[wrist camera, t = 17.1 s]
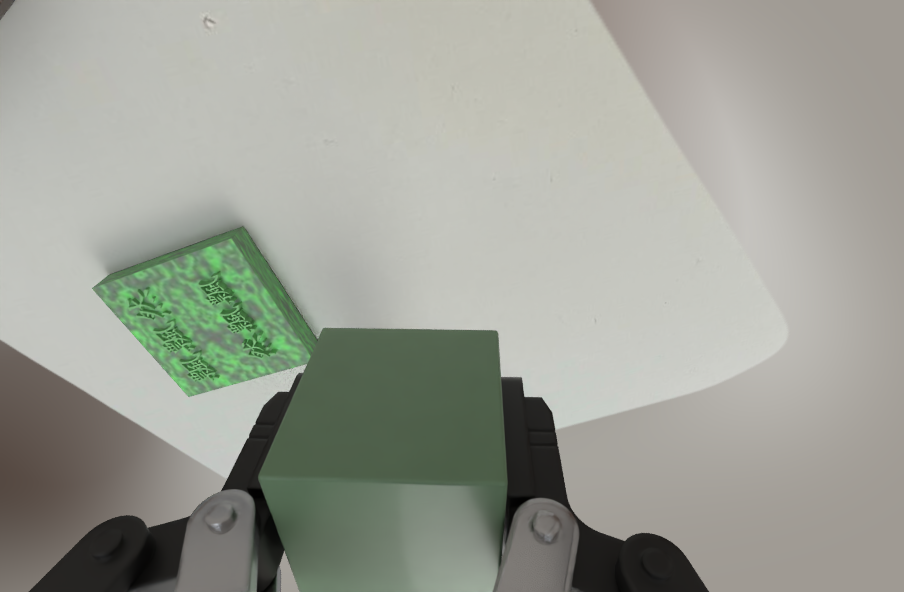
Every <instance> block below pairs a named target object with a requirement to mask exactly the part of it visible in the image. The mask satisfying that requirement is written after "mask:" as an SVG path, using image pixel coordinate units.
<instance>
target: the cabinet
mask: <svg viewBox="0 0 904 592" xmlns="http://www.w3.org/2000/svg"><path fill="white" fill-rule="evenodd" d="M14 1H15V0H0V19H1V18H2V16H3V15H4V14H5V12H6V11H7V10H8V9H9V7H10V6H11V5H12V3H13V2H14Z"/></svg>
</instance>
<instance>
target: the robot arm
mask: <svg viewBox="0 0 904 592" xmlns="http://www.w3.org/2000/svg"><path fill="white" fill-rule="evenodd" d="M302 375H303V373H299V374H298V375H297V376H296V378H295V380H294V383H293V385H292V387H291V389H290V391H289V392H278V393H277V394H275V395H274V396H273V397H272V398H271V399H270V400H269V401H268V402H267V403H266V404H265V405H264V406H263V408H262V410H261V412H260V414H259V416H258V418H257V420H256V425H254V426H253V428H252V430H251V432H250V434H249V439H247V440H246V442H245V444H244V446H243V448H242V450H241V452H240V454H239V457H238V459H237V461H236V463H235V465H234V467H233V469H232V471H231V473H230V475H229V477H228V479H227V481H226V483H225V485H224V487H223V488H222V490H221V492H218V493H216V494H214V495H212V496H210V497H208V498H207V499H206V500H204V501H203V502H202V503H201V504H200V505H198V507H197V508H196V509H195V510H194V511H193V513H192V514H191V516H189V517H186V518H183V519H180V520H176V521H172V522H168V523H165V524H161V525H157V526H153V527H149V528H147V526H146V525H145V523H144V522H143V521H142V520H141V519H140V518H138V517H135V516H127V515H126V516H119V517H115V518H112V519H110V520H107V521H105V522H103V523H101V524H100V525H98V526H96V527H95V528H94V529H92V530H91V531H90V532H88V534H86V535H85V536H84V537H83V538H82V539H81V540H80V541H79V542H78V543H77V544H76V545H75V546H74V547H73V548H72V549H71V550H70V551H69V552H68V553H67V554H66V555H65V556H64V557H63V558H62V559H61V560H60V561H59V562H58V563H57V564H56V565H55V566H54V567H53V568H52V569H51V570H50V571H49V572H48V573H47V574H46V575H45V576H44V577H43V578H42V579H41V580H40V581H39V582H38V583H37V584H36V585H35V586H34V587H33V588H32V589H31V590H30V591H29V592H281V570H280V566H279V565H280V562H281V559H282V556H283V553H284V548H283V545H282V542H281V540H280V537H279V534H278V531H277V529H276V526H275V523H274V520H273V518H272V515H271V512H270V510H269V507H268V504H267V501H266V499H265V496H264V493H263V490H262V488H261V485H260V482H259V480H258V476H259V473H260V471H261V468H262V466H263V464H264V461H265V459H266V457H267V455H268V452H269V450H270V448H271V446H272V443H273V441H274V439H275V436H276V434H277V432H278V430H279V427H280V425H281V423H282V420H283V418H284V416H285V414H286V411H287V409H288V407H289V405H290V402H291V400H292V398H293V395H294V393H295V391H296V389H297V386H298V384H299V382H300V379H301V377H302ZM501 386H502V401H503V417H504V433H505V448H506V464H507V480H508V486H507V499H506V511H505V523H504V535H503V548H502V560H501V564H500V567H499V571H498V574H497V578H496V581H495V585H494V589H493V592H709V591H708V590H707V588H706V587H705V585H704V583H703V582H702V580H701V579H700V578H699V576H698V574H697V573H696V571H695V570H694V568H693V567H692V565H691V563H690V562H689V560H688V559H687V558H686V556H685V555H684V553H683V552H682V551H681V550H680V549H679V548H678V547H677V546H675V545H674V544H673V543H672V542H670V541H669V540H667V539H665V538H663V537H661V536H658V535H655V534H650V533H640V534H635V535H633V536H631V537H629V538H628V539H627V540H626V541H623V540H620V539H617V538H614V537H611V536H608V535H606V534H603V533H600V532H598V531H595V530H593V529H591V528H590V527H588V526H587V525H585V524H584V523H583V522H582V521H581V520H579V519H578V517H577V516H576V515H575V514H574V512H573V511H572V509H571V507H570V505H569V502H568V499H567V494H566V488H565V483H564V477H563V471H562V466H561V460H560V455H559V449H558V446H557V437H556V433H555V426H554V420H553V415H552V412H551V410H550V409H549V407H548V406H547V404H546V403H545V402H544V400H543V399H542V397H524V391H523V383H522V378H521V377H501Z"/></svg>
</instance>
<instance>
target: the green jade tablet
mask: <svg viewBox="0 0 904 592" xmlns="http://www.w3.org/2000/svg"><path fill="white" fill-rule="evenodd" d="M92 289H93V290H94V291H95V292H96V294H97V295H98V296H99V297H100V298H101V299H102V300H103V301H104V303H105V304H106V305H107V306H108V307H109V308H110V309H111V310H112V312H113V313H114V314H115V315H116V316H117V317H118V318H119V319H120V320H121V322H122V323H123V324H124V325H125V326H126V327H127V328H128V329H129V331H130V332H131V333H132V334H133V335H134V336H135V337H136V338H137V340H138V341H139V342H140V343H141V344H142V345H143V346H144V347H145V349H146V350H147V351H148V352H149V353H150V354H151V355H152V356H153V357H154V359H155V360H156V361H157V362H158V363H159V364H160V365H161V366H162V368H163V369H164V370H165V371H166V372H167V373H168V374H169V375H170V377H171V378H172V379H173V380H174V381H175V382H176V383H177V384H178V385H179V387H180V388H181V389H182V390H183V391H184V392H185V393H186V394H187V396H188V397H190V396H194V395H197V394H201V393H204V392H208V391H211V390H215V389H219V388H222V387H226V386H229V385H233V384H237V383H240V382H244V381H247V380H251V379H254V378H258V377H262V376H265V375H269V374H272V373H276V372H280V371H283V370H287V369H290V368H294V367H298V366H301V365H305V364H308V361H309V359H310V357H311V354H312V352H313V350H314V348H315V345H316V343H317V339H316V338H315V336H314V335H313V333H312V332H311V330H310V329H309V327H308V325H307V324H306V322H305V321H304V319H303V318H302V316H301V315H300V313H299V312H298V310H297V308H296V307H295V305H294V304H293V302H292V301H291V299H290V298H289V296H288V295H287V293H286V292H285V290H284V288H283V287H282V285H281V284H280V282H279V281H278V279H277V278H276V276H275V275H274V273H273V271H272V270H271V268H270V267H269V265H268V264H267V262H266V261H265V259H264V258H263V256H262V254H261V253H260V251H259V250H258V248H257V247H256V245H255V244H254V242H253V241H252V239H251V237H250V236H249V234H248V233H247V231H246V230H245V228H244V227H240V228H237V229H235V230H232V231H229V232H226V233H224V234H221V235H218V236H215V237H212V238H210V239H207V240H204V241H201V242H199V243H196V244H193V245H190V246H188V247H185V248H182V249H179V250H177V251H174V252H171V253H168V254H165V255H163V256H160V257H157V258H154V259H152V260H149V261H146V262H143V263H141V264H138V265H135V266H132V267H130V268H127V269H124V270H121V271H118V272H116V273H113V274H110V275H108V276H107V277H106V278H105V279H103V280H102V281H101V282H99V283H98V284H97V285H96V286H94V287H93V288H92Z"/></svg>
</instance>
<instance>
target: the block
mask: <svg viewBox="0 0 904 592" xmlns="http://www.w3.org/2000/svg"><path fill="white" fill-rule="evenodd" d="M258 480H259V482H260V485H261V488H262V490H263V493H264V496H265V499H266V501H267V504H268V507H269V510H270V512H271V515H272V518H273V520H274V523H275V526H276V529H277V531H278V534H279V537H280V540H281V542H282V545H283V548H284V550H285V553H286V556H287V559H288V561H289V564H290V567H291V570H292V572H293V575H294V578H295V580H296V582H297V585H298V589H299V591H300V592H493V589H494V585H495V581H496V578H497V574H498V571H499V567H500V564H501V560H502V548H503V535H504V523H505V511H506V499H507V486H508V480H507V464H506V448H505V433H504V417H503V401H502V386H501V370H500V354H499V338H498V332H497V331H495V330H432V329H366V328H323V329H322V332H321V334H320V336H319V338H318V341H317V343H316V345H315V348H314V350H313V352H312V354H311V357H310V359H309V361H308V364H307V366H306V368H305V370H304V373H303V375H302V377H301V379H300V382H299V384H298V386H297V389H296V391H295V393H294V395H293V398H292V400H291V402H290V405H289V407H288V409H287V411H286V414H285V416H284V418H283V420H282V423H281V425H280V427H279V430H278V432H277V434H276V436H275V439H274V441H273V443H272V446H271V448H270V450H269V452H268V455H267V457H266V459H265V461H264V464H263V466H262V468H261V471H260V473H259V476H258Z"/></svg>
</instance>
